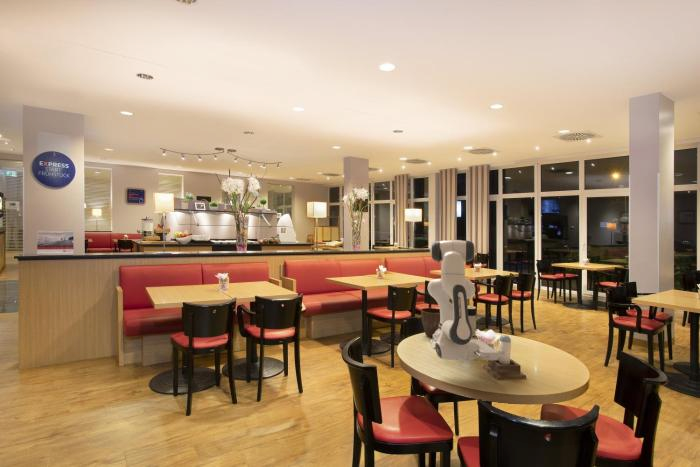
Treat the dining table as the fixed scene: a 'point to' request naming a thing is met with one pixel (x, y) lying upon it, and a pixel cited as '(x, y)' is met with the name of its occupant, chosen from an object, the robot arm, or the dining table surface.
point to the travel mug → (472, 318)
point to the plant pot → (430, 320)
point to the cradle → (504, 370)
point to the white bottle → (505, 350)
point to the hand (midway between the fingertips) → (498, 349)
